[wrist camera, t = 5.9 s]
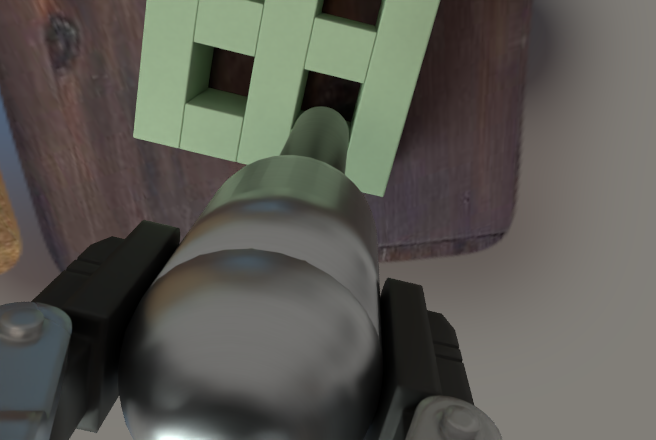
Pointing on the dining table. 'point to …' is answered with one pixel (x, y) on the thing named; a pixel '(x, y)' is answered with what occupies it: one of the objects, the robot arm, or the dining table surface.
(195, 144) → the rack
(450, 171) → the dining table surface
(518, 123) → the dining table surface
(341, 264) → the microphone
